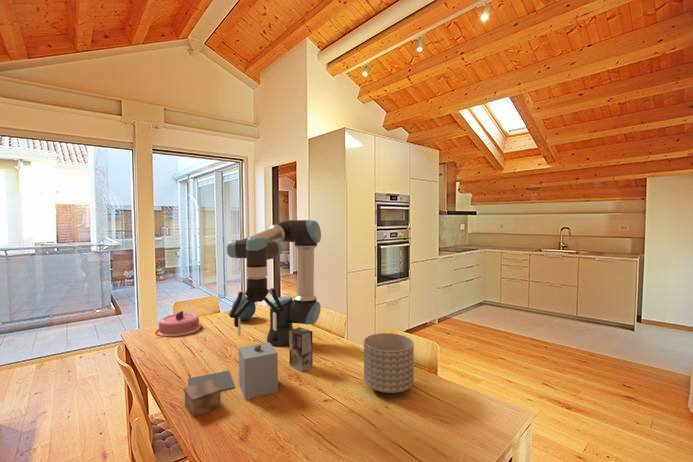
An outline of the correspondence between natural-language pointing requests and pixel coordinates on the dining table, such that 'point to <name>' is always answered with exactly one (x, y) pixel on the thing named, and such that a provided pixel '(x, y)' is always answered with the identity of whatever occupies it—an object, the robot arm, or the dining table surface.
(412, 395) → the dining table surface
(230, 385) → the mat
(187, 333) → the cake
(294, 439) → the dining table surface
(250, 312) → the decorative ball
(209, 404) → the box
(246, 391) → the cover
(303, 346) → the coffee box
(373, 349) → the planter
